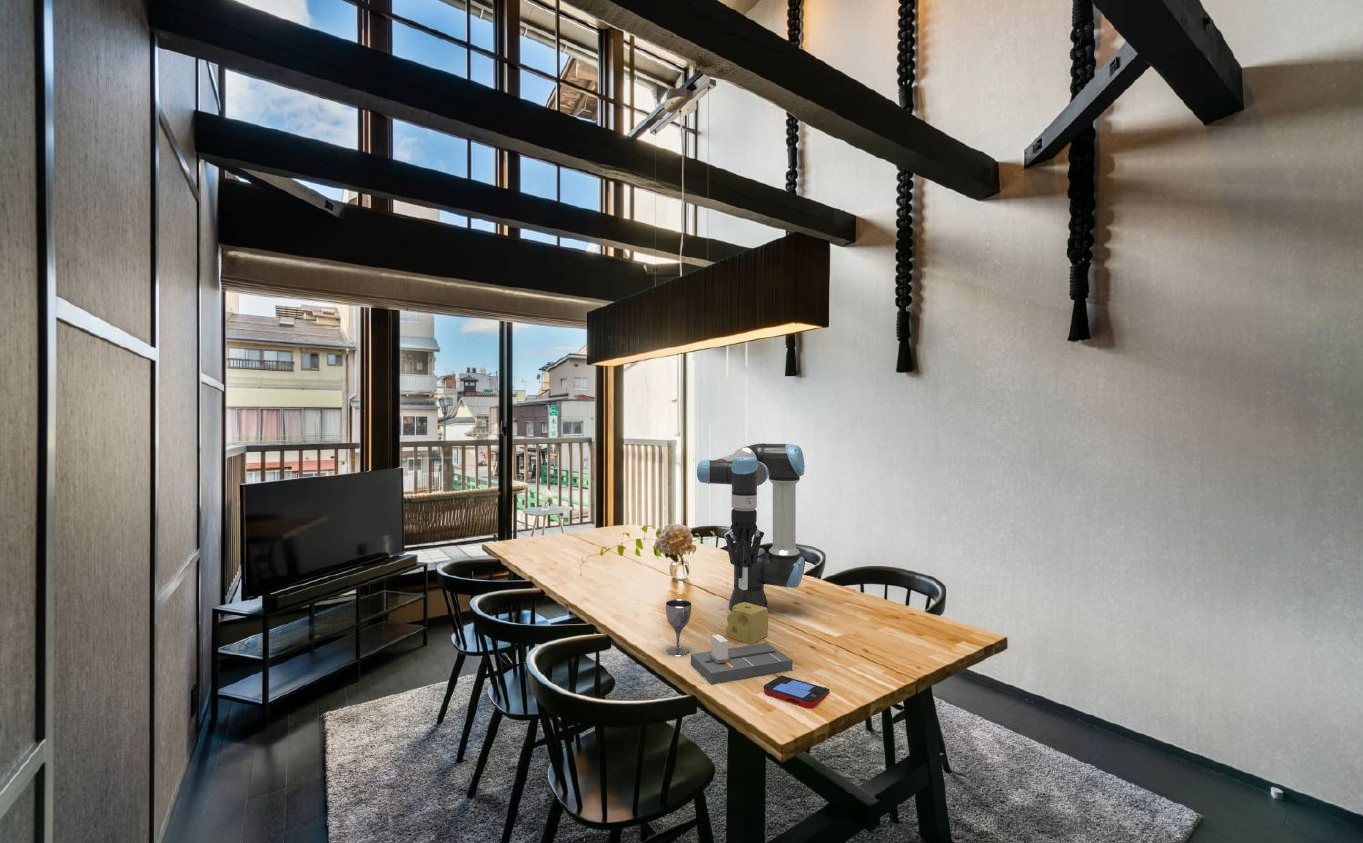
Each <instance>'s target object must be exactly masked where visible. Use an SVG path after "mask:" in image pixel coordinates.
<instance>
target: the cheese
mask: <svg viewBox="0 0 1363 843" xmlns="http://www.w3.org/2000/svg"><path fill="white" fill-rule="evenodd" d="M726 621H727V625H726V628H725V636H726V637H727V638H730V639H733V640H737V641H739V642H743V643H745V644H747V645H753V644H754V643H756V642H759V641H760V640H763V639H764V637H765V638H767V637H768V632H769V607H768V608H765V607H762V606H758V605H753V604H750V603H747V602H743V603H739V604H736V605H734V606H733V609H732V611H731V612H730V613H728V614H727V617H726ZM762 638H763V639H762Z"/></svg>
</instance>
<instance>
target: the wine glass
mask: <svg viewBox="0 0 1363 843" xmlns="http://www.w3.org/2000/svg"><path fill="white" fill-rule="evenodd" d="M665 613H666V614H665V615H666V621H667V623H668V624H669V625H670V626H671V628H672V629H673V630H674V633H675V637H676V646H675V648H673V647H670V649H669V648H668V649H666V651H667V653H668V654H667V653H666V654H667V655H669V656H671V655H672V656H673V657H684V655H685V656H687V655H689V654H690V651H688V650H689V649H688V648H685V649H684V647H681V648H679V647H680V638H681V633H682V631H683V629H684V628H685V627H686V626H687V625H688V624H689V622H690V618H691V614H692V602H691V601H689V600H687V599H676V598H675V599H670V600H668V601H666V602H665ZM688 653H689V654H688Z"/></svg>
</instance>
